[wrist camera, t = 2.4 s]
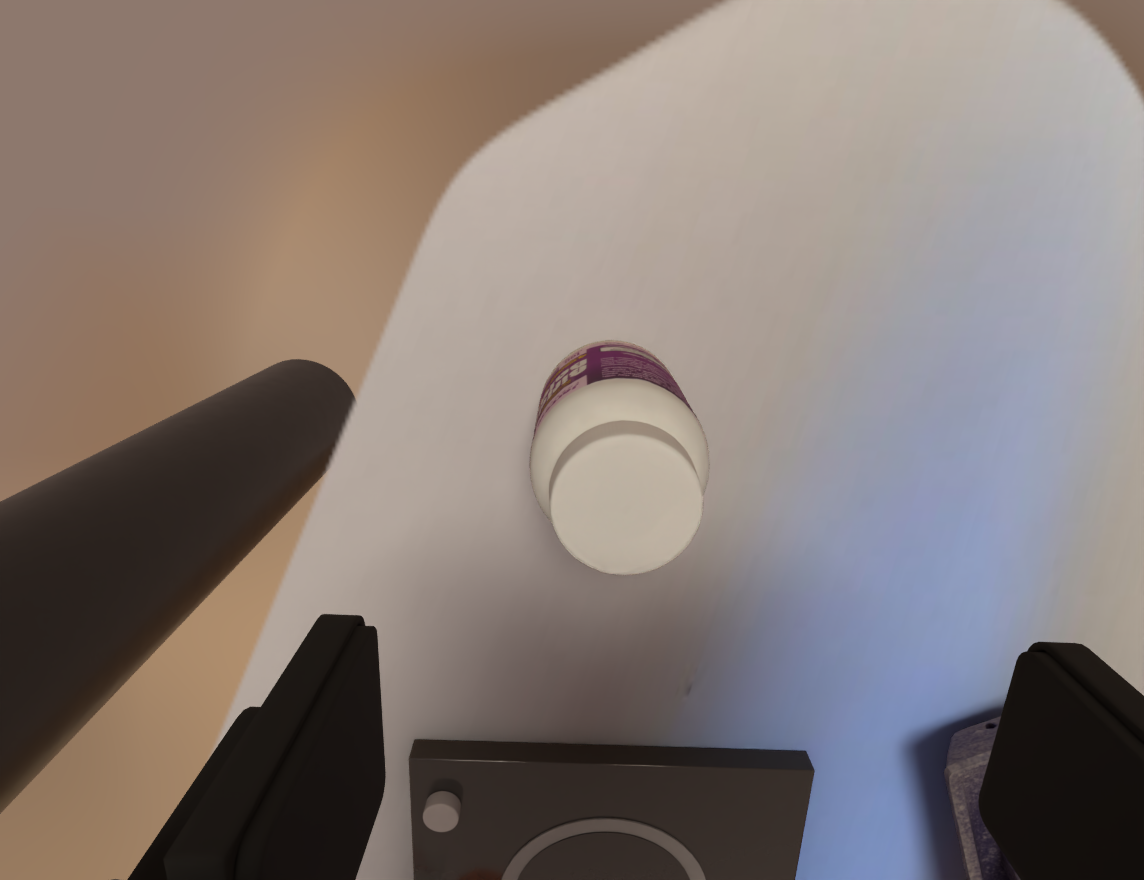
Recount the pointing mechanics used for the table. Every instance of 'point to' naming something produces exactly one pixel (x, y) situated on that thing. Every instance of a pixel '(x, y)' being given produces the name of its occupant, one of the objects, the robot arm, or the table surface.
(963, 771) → the toy boat
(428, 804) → the hob
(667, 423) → the pill bottle
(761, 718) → the table surface
